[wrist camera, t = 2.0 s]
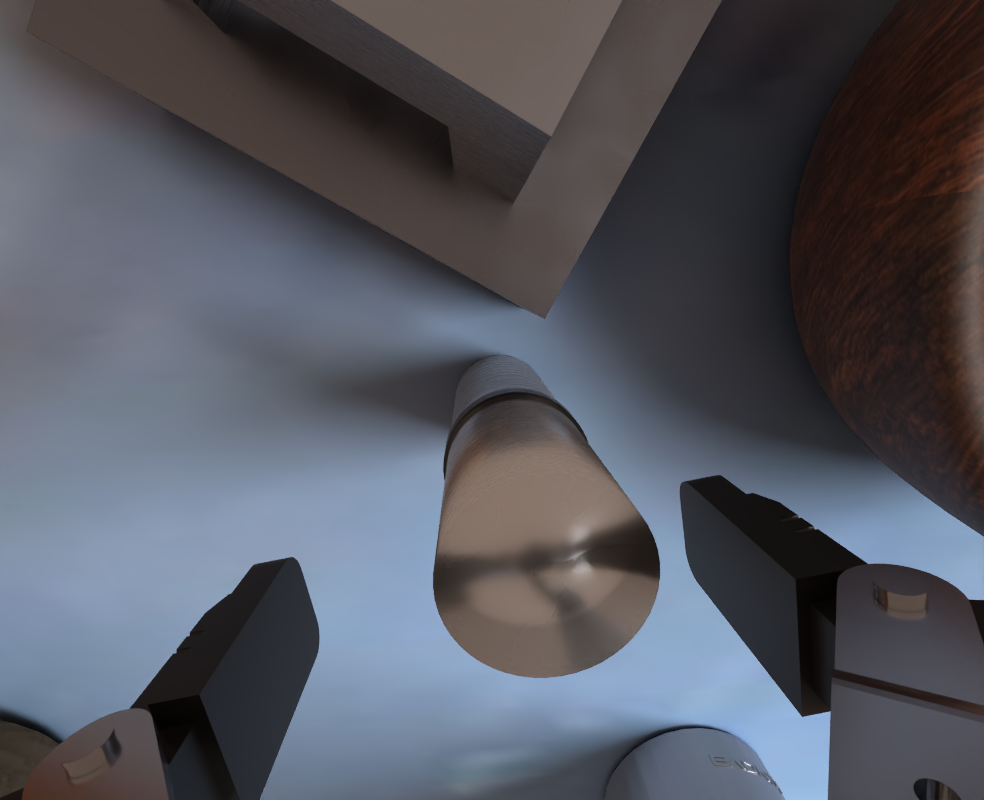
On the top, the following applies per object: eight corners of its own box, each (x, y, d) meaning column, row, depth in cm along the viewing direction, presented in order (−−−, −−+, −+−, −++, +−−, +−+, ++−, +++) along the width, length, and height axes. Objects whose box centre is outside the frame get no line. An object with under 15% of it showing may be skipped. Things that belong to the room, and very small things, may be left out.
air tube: (518, 459, 23) (588, 713, 9) (436, 418, 22) (386, 627, 9) (563, 380, 22) (711, 533, 9) (480, 335, 22) (499, 425, 8)
